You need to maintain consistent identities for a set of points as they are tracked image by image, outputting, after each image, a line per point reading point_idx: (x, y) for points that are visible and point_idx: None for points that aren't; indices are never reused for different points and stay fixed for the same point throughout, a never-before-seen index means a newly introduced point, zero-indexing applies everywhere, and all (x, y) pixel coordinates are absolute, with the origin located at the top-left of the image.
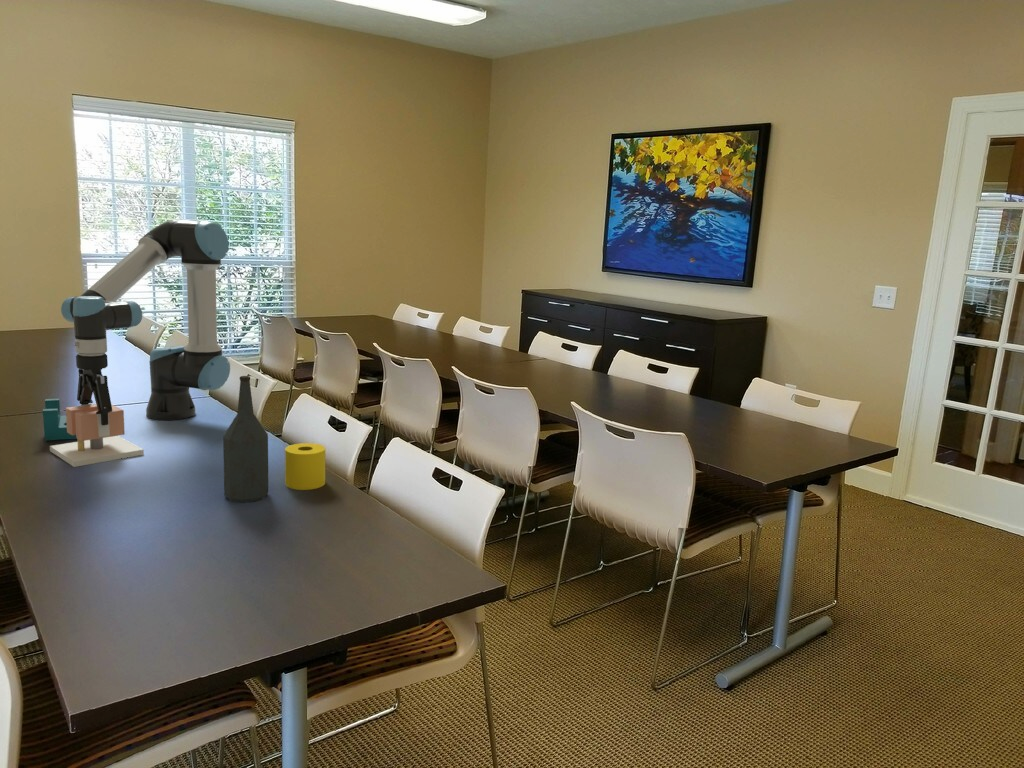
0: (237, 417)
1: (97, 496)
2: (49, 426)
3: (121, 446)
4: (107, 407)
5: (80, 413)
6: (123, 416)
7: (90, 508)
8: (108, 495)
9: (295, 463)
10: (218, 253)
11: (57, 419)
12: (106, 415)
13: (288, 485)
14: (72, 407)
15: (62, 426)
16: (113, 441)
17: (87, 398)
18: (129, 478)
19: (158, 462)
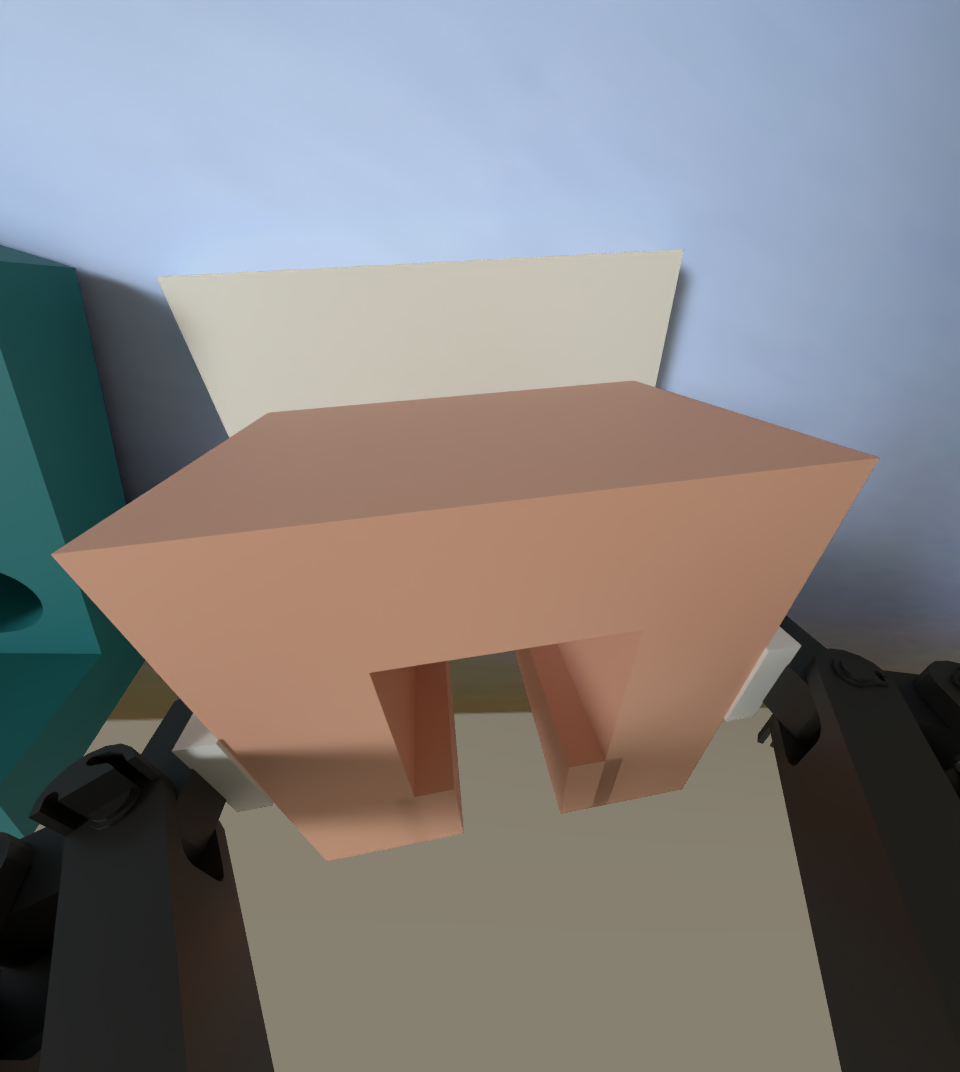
0: None
1: (896, 579)
2: (103, 696)
3: (514, 367)
4: (902, 727)
5: (612, 792)
6: (771, 429)
7: (937, 603)
8: (923, 556)
9: None
10: None
11: (58, 711)
12: (808, 650)
13: None
14: (336, 837)
15: (65, 638)
16: (356, 373)
17: (209, 905)
18: (883, 465)
19: (860, 241)
